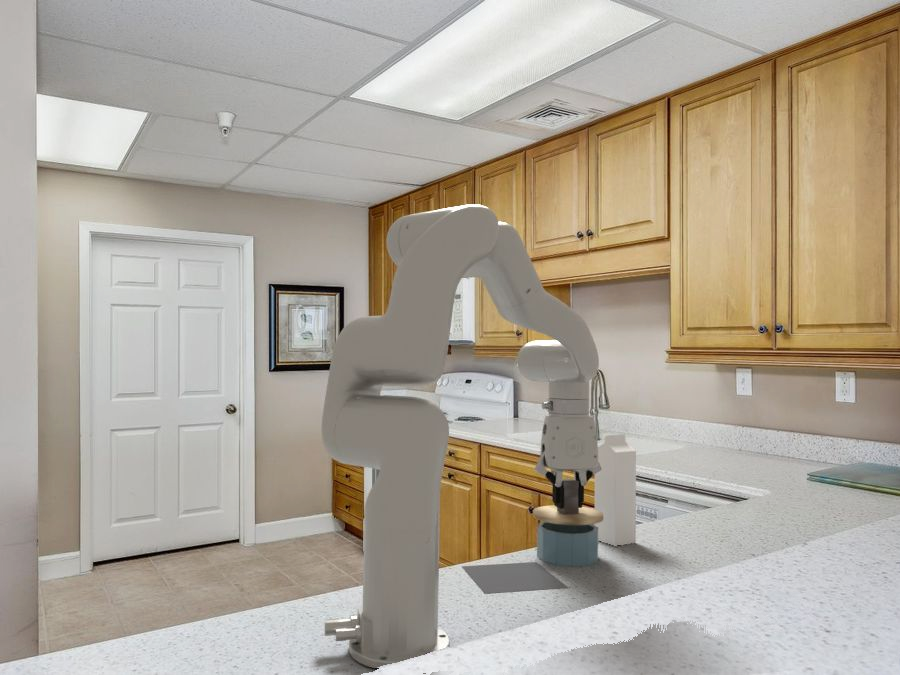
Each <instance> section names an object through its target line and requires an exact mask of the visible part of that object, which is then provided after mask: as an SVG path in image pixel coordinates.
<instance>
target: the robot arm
mask: <svg viewBox="0 0 900 675" xmlns="http://www.w3.org/2000/svg"><path fill="white" fill-rule="evenodd" d="M385 242H386V248H387V253H388V255H389V258H390V259H391V261H392V262H393V263H394V264H395V266H396V267H397V268H396V270H395V273H394V277H393V280H392V286H391V290H390V296H389V302H388V306H387V310H386V312H385V313H384V314H383V315H371V316H370V315H368V316H361V317H358V318H355V319H353V320H351V321H350V322H348V323H347V324H346V325H345V326H344V327H343V328H342V330H341V331H340V333H339V335H338V336H337V338H336V341H335V343H334V347H333V349H332V353H331V354H332V355H331V358H330V366H329V371H328V372H329V373H328V376H327V384H326V390H325V396H324V403H323V404H324V405H323V409H322V416H321V417H322V418H321V439H322V444H323V447H324V449H325V451H326V453H327V454H328V456H329V457H331V459H332V460H334V461H336V462H338V463H339V464H344V465H349V466H355V467H363V468H367V469H375V470H379V473H378V476H377V477H376V479H375V481H374V483H373V485H372V486H371V489H370V491H369V493H368V494H367V497H366V501H365V506H364V512H363V513H364V514H363V516H364V517H363V524H364V525H363V526H364V528H363V530H364V532H363V533H364V534H363V570H362V571H363V572H362V574H363V575H362V576H363V577H362V581H363V582H362V606H358V607H357V614H351V615H350V616H349V618H340V617H339V618H338V617H337V618H325V619H324V636H325V637H329V636H335V641H336V642H344V641H345V642H346V641H348V652H349V655H350V656H351V657H352V659H353V660H355V661H356V662H358V663H360V664H361V665H364V666H366V667H368V668H372V669H375V668H377V667H380V666H383V665H387V664H392V663H397V662H400V661H404V660H407V659H410V658H414V657H418V656H421V655H425V654H427V653H430V652H433V651H436V650H440V649H443V648H447V647H450V645H451V640H450V637H449V635H448V634H447V633H446V632H445V631H444V630H443V629H442V628H439V579H440V578H439V576H440V573H439V572H440V570H439V569H440V515H441V514H440V511H441V510H440V509H441V508H440V506H441V488H442V478H443V471H444V466H445V461H446V457H447V456H446V455H447V451H448V447H449V440H450V427H449V426H450V425H449V422H448V419H447V416H446V414H445V413H444V411H443V410H442V409H441V408H440V407H439V406H438V405H437V404H435V403H433V402H432V401H430V400H428V399H423V398H421V397H416V396H408V395H407V396H406V395H389V394H388V395H387V394H386V395H385V394H383V395H381V392H382V388H383V387H384V386H385V387H410V388H411V387H412V388H413V387H424V386H429V385H433V384H434V383H436V382H437V381H439V379H440V378H441V377H442V376H443V373H444V371H445V368H446V362H447V357H448V351H449V343H450V335H451V327H452V318H453V310H454V303H455V299H456V293H457V289H458V286H459V284H460V281H461V280H462V279H467V278H478V279H480V280H481V282H482V283H483V285H484V287H485V289H486V291H487V293H488V295H489V297H490V298H491V301H492V302H493V304H494V306H495V308H496V311H497V313H498V314H499V315H500V317H501V318H502V319H503V320H505V321H507V322H509V323H511V324H512V325H516V326H519V327H521V328H524V329H527V330H530V331H533V332H536V333H539V334H542V335H545V336H547V337H549V338H552V339H551V340H550V339H547V340H540V339H539V340H533V341H530V342H527V343H526V344H524V345H523V346H522V347H521V348H520V350H519V351H518V353H517V359H516V360H517V361H516V362H517V369H518V370H519V372H520V374H521V375H522V376H523V377H524V379H525V378H526V379H527V380H529V381H532V382H538V383H544V382H545V383H548V398H547V401H542V403H541V408H542V410H547V413H548V414H545V416H544V420H543V426H542V432H541V441H540V454H539V455H540V457H539V458H538V461H537V463H536V465H535V466H534V472H536V473H538V474H539V475H542V477H545V478H546V480H547V481H549V483H550V484H551V485H552V490H551V491H552V493H551V495H552V497H551V500H552V503H553V505H555V506H556V507H558V508H560V509H563V508H564V487H562V479H563V473H564V471H565V472H567V471H573V476H574V478H573V479H574V480H577V481H579V487H578V507H579V508H582V507H583V503H584V502H585V486H587V484H588V481H589V480H590V479H591V478H592V477H593V476H595V474H596V473H598V472H599V471H601V469H602V468H601V466H600V464H599V462H598V447H599V445H598V435H597V428H596V424H595V418H594V416H593V415H590V381H591V380H592V379H594V377H595V376H596V375H597V372H598V371H599V366H600V365H599V363H600V358H599V352H598V348H597V346H596V342H595V340H594V338H593V335H592V333H591V330H590V328H589V326H588V324H587V323H586V321H585V320H584V318H583V317H582V316H580V314H579V313H578V312H576V311H575V310H574V309H572V307H569V306H568V305H567V304H566V303H565V302H563V301H562V300H560V299H559V298H558V297H555V295H552V294H550V293H549V292H548V291H546V290H545V288H544V287H543V283H542V281H541V279H540V277H539V275H538V272H537V270H536V267H535V265H534V264H533V262H532V259H531V256H530V255H529V252H528V251H527V248H526V246H525V244H524V242H523V239H522V237H521V235H520V234H519V231H517V229H516V228H515V227H514V226H513V225H511V224H509V223H507V222H503V221H499V220H498V217H497V214H496V213H495V212H494V211H493V210H492V209H490V207H487V206H484V205H481V204H472V203H471V204H465V205H459V206H453V207H447V208H441V209H437V210H431V211H424V212H418V213H417V212H416V213H413V214H408V215H404V216H401V217H399V218H397V219H396V220H395V221H393V223H392V224H391V225H390V227H389V229H388V231H387V234H386V241H385ZM546 468H549V469H550V471H549V470H547V469H546Z"/></svg>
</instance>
